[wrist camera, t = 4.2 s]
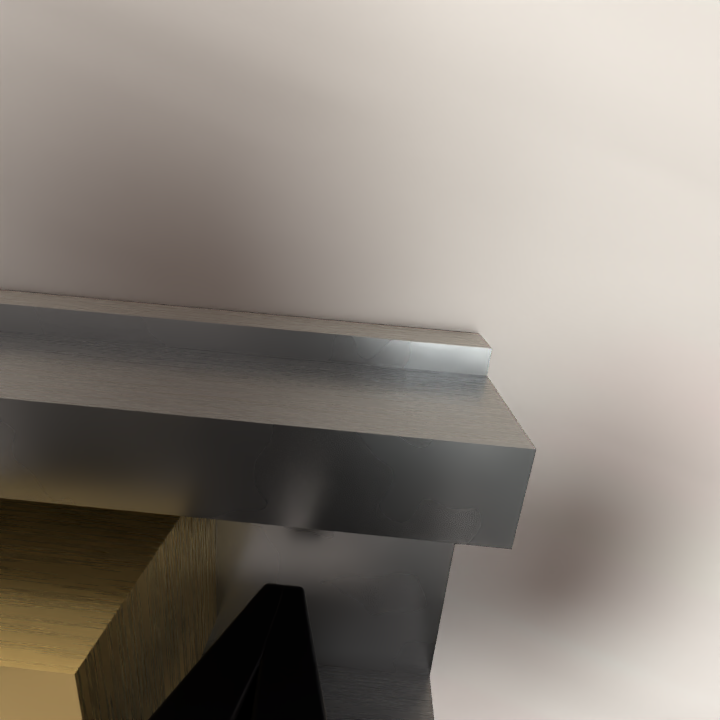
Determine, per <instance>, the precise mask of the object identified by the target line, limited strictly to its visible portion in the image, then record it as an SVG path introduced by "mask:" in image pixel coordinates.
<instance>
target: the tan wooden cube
mask: <svg viewBox="0 0 720 720" xmlns="http://www.w3.org/2000/svg"><path fill="white" fill-rule="evenodd" d="M216 619H217V605H216V551H215V519H206V518H196V517H186V516H176V515H166V514H156V513H146V512H136V511H126V510H116V509H106V508H96V507H86V506H76V505H66V504H56V503H46V502H36V501H26V500H16V499H6V498H0V720H148V719H149V718H150V716H151V715H152V714H153V713H154V712H155V711H156V709H157V708H158V707H159V706H160V705H161V704H162V702H163V701H164V700H165V699H166V698H167V697H168V696H169V694H170V693H171V692H172V691H173V690H174V689H175V687H176V686H177V685H178V684H179V683H180V682H181V680H182V679H183V678H184V677H185V676H186V675H187V673H188V672H189V671H190V670H191V669H192V668H193V667H194V665H195V664H196V663H197V662H198V661H199V660H200V658H201V656H202V654H203V651H204V649H205V646H206V644H207V641H208V639H209V636H210V634H211V632H212V629H213V627H214V624H215V622H216Z"/></svg>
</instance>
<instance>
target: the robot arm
mask: <svg viewBox="0 0 720 720" xmlns="http://www.w3.org/2000/svg"><path fill="white" fill-rule="evenodd" d="M148 720H327V715H326V709H325V703H324V698H323V692H322V686H321V681H320V675H319V669H318V664H317V658H316V652H315V647H314V641H313V636H312V630H311V624H310V619H309V613H308V607H307V602H306V596H305V591H304V588H303V587H301V586H293V585H284V584H276V583H266V584H265V585H263V587H262V588H261V589H260V590H259V591H258V592H257V593H256V595H255V596H254V597H253V598H252V599H251V600H250V602H249V603H248V604H247V605H246V606H245V607H244V608H243V610H242V611H241V612H240V613H239V614H238V615H237V617H236V618H235V619H234V620H233V621H232V622H231V624H230V625H229V626H228V627H227V628H226V629H225V631H224V632H223V633H222V634H221V635H220V636H219V637H218V639H217V640H216V641H215V642H214V643H213V644H212V646H211V647H210V648H209V649H208V650H207V651H206V653H205V654H204V655H203V656H202V657H201V658H200V660H199V661H198V662H197V663H196V664H195V665H194V667H193V668H192V669H191V670H190V671H189V672H188V673H187V675H186V676H185V677H184V678H183V679H182V680H181V682H180V683H179V684H178V685H177V686H176V687H175V689H174V690H173V691H172V692H171V693H170V694H169V696H168V697H167V698H166V699H165V700H164V701H163V702H162V704H161V705H160V706H159V707H158V708H157V709H156V711H155V712H154V713H153V714H152V715H151V716H150V718H149V719H148Z"/></svg>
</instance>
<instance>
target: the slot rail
mask: <svg viewBox="0 0 720 720" xmlns="http://www.w3.org/2000/svg"><path fill="white" fill-rule="evenodd" d="M491 352H492V348H491V347H490V346H489V345H488V343H487V342H486V341H485V340H484V339H483V337H482V336H481V335H480V334H478V333H467V332H456V331H445V330H434V329H423V328H412V327H401V326H390V325H379V324H368V323H357V322H347V321H336V320H325V319H314V318H303V317H292V316H281V315H270V314H259V313H248V312H237V311H226V310H216V309H205V308H194V307H183V306H172V305H161V304H150V303H139V302H128V301H117V300H106V299H95V298H85V297H74V296H63V295H52V294H41V293H30V292H19V291H8V290H0V498H6V499H16V500H26V501H36V502H46V503H56V504H66V505H76V506H86V507H96V508H106V509H116V510H126V511H136V512H146V513H156V514H166V515H176V516H186V517H196V518H206V519H215V551H216V605H217V619H216V622H215V624H214V627H213V629H212V632H211V634H210V636H209V639H208V641H207V644H206V646H205V649H204V651H203V654H202V656H203V655H204V654H205V653H206V651H207V650H208V649H209V648H210V647H211V646H212V644H213V643H214V642H215V641H216V640H217V639H218V637H219V636H220V635H221V634H222V633H223V632H224V631H225V629H226V628H227V627H228V626H229V625H230V624H231V622H232V621H233V620H234V619H235V618H236V617H237V615H238V614H239V613H240V612H241V611H242V610H243V608H244V607H245V606H246V605H247V604H248V603H249V602H250V600H251V599H252V598H253V597H254V596H255V595H256V593H257V592H258V591H259V590H260V589H261V588H262V587H263V585H265V584H266V583H276V584H284V585H293V586H301V587H303V588H304V591H305V596H306V602H307V607H308V613H309V619H310V624H311V630H312V636H313V641H314V647H315V652H316V658H317V664H318V669H319V675H320V681H321V686H322V692H323V698H324V703H325V709H326V715H327V720H434V714H433V705H432V695H431V686H430V677H429V675H430V670H431V665H432V660H433V655H434V649H435V644H436V639H437V634H438V628H439V623H440V618H441V613H442V608H443V602H444V597H445V592H446V587H447V581H448V576H449V571H450V566H451V561H452V555H453V550H454V545H455V543H456V544H466V545H476V546H486V547H496V548H506V549H512V545H513V541H514V537H515V533H516V529H517V525H518V521H519V517H520V513H521V509H522V505H523V501H524V497H525V493H526V488H527V484H528V480H529V476H530V472H531V468H532V464H533V460H534V456H535V452H536V448H535V447H534V445H533V444H532V442H531V441H530V439H529V438H528V436H527V435H526V433H525V432H524V430H523V429H522V427H521V426H520V425H519V423H518V422H517V420H516V419H515V417H514V416H513V414H512V413H511V411H510V410H509V408H508V407H507V405H506V404H505V402H504V401H503V399H502V398H501V396H500V395H499V393H498V392H497V390H496V389H495V387H494V386H493V384H492V383H491V381H490V380H489V378H488V377H487V373H488V367H489V362H490V357H491ZM202 656H201V657H202Z"/></svg>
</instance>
